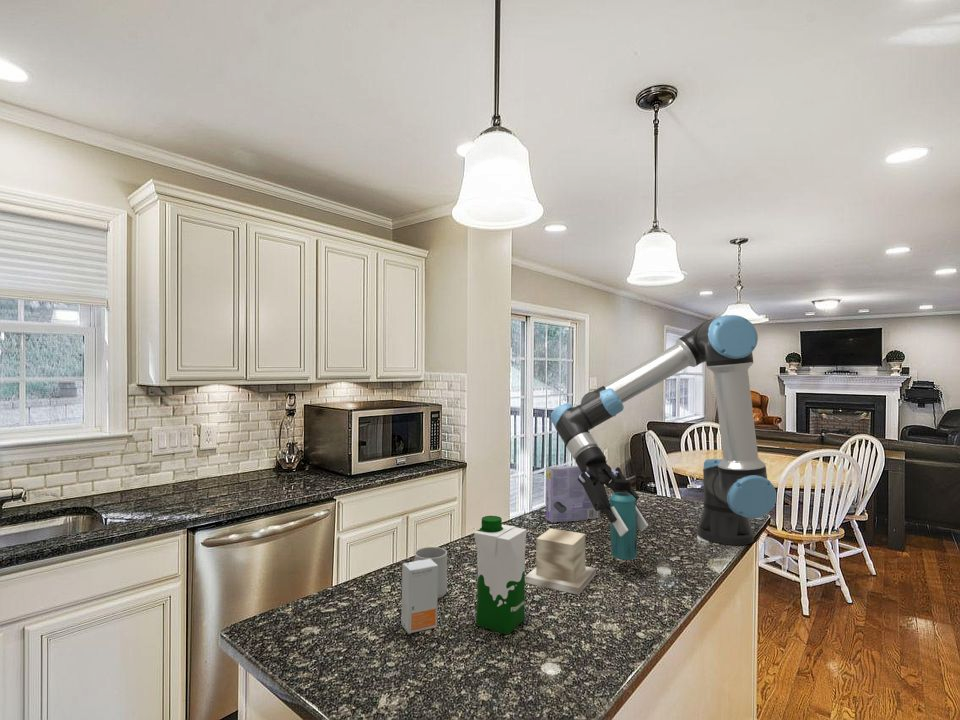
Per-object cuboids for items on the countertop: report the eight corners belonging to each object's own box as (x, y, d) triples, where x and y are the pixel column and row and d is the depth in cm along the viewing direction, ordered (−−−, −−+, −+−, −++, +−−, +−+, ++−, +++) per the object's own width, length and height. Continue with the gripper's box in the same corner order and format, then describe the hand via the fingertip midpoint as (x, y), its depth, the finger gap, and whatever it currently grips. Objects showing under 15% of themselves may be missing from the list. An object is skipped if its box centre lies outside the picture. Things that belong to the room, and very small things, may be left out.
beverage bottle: (639, 567, 123) (637, 483, 123) (610, 565, 124) (609, 482, 124) (636, 557, 129) (635, 477, 129) (609, 555, 130) (608, 476, 131)
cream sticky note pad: (596, 574, 124) (595, 532, 125) (579, 594, 113) (579, 549, 113) (545, 564, 131) (545, 524, 131) (525, 582, 119) (525, 539, 119)
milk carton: (492, 608, 107) (492, 511, 107) (531, 619, 102) (531, 518, 102) (469, 625, 99) (469, 522, 100) (510, 639, 94) (510, 529, 95)
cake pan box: (595, 515, 176) (595, 463, 176) (603, 519, 171) (603, 465, 171) (544, 520, 169) (544, 466, 170) (551, 524, 165) (551, 469, 165)
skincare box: (408, 635, 96) (408, 570, 96) (400, 625, 99) (401, 562, 100) (438, 627, 98) (438, 565, 99) (430, 618, 102) (430, 557, 103)
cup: (453, 593, 114) (453, 552, 114) (417, 607, 107) (417, 564, 107) (433, 583, 119) (433, 544, 119) (397, 596, 112) (397, 555, 112)
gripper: (605, 458, 145) (653, 532, 131) (552, 465, 135) (597, 546, 121) (619, 442, 141) (670, 516, 126) (565, 448, 131) (613, 529, 116)
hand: (634, 530), depth 124 cm, fingers closed on beverage bottle, 6 cm apart
